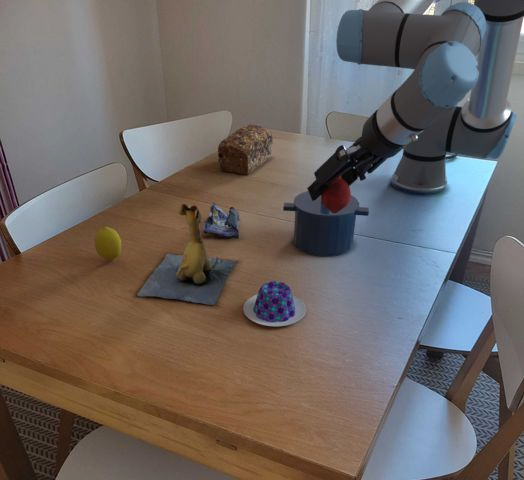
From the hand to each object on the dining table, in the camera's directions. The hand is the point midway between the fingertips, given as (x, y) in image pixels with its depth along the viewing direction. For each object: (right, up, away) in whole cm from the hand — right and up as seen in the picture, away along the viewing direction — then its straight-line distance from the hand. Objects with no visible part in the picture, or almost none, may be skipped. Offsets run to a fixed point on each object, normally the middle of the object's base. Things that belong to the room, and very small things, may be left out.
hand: (324, 191), depth 110 cm
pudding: (-10, -25, -5) cm, 27 cm away
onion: (+2, -5, 0) cm, 5 cm away
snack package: (-22, -3, +24) cm, 32 cm away
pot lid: (+2, +1, +13) cm, 13 cm away
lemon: (-46, -12, +11) cm, 49 cm away
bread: (-17, +26, +61) cm, 68 cm away
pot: (+2, -7, +19) cm, 20 cm away
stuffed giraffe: (-28, -17, +5) cm, 33 cm away
